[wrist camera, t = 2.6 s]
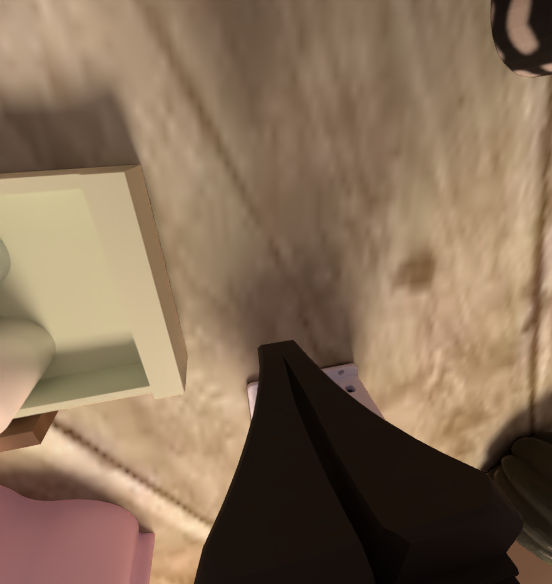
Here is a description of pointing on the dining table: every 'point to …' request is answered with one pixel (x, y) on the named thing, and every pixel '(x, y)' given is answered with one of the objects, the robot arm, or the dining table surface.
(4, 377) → the pale pink cylinder
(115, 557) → the clip
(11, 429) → the rack
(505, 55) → the spotted tube
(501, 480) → the squash
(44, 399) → the tray
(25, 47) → the dining table surface
